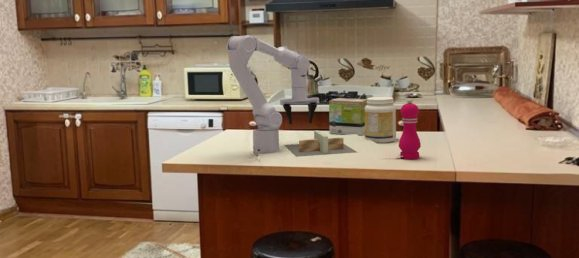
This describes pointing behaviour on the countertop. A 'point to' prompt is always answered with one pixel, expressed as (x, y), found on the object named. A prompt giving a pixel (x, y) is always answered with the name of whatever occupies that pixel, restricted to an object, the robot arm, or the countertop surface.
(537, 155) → the countertop surface
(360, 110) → the tea box
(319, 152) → the board
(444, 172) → the countertop surface
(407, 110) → the pepper mill
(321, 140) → the sage notched plate
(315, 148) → the oak slotted plate
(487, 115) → the countertop surface
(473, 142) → the countertop surface
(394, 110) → the supplement tub
